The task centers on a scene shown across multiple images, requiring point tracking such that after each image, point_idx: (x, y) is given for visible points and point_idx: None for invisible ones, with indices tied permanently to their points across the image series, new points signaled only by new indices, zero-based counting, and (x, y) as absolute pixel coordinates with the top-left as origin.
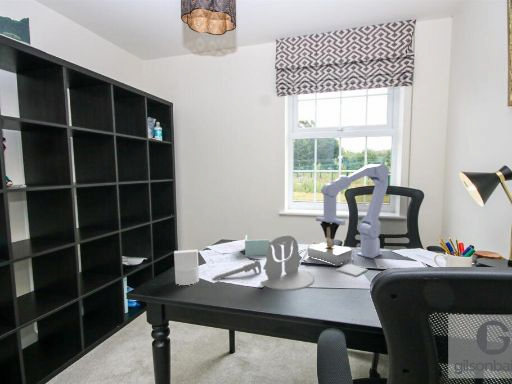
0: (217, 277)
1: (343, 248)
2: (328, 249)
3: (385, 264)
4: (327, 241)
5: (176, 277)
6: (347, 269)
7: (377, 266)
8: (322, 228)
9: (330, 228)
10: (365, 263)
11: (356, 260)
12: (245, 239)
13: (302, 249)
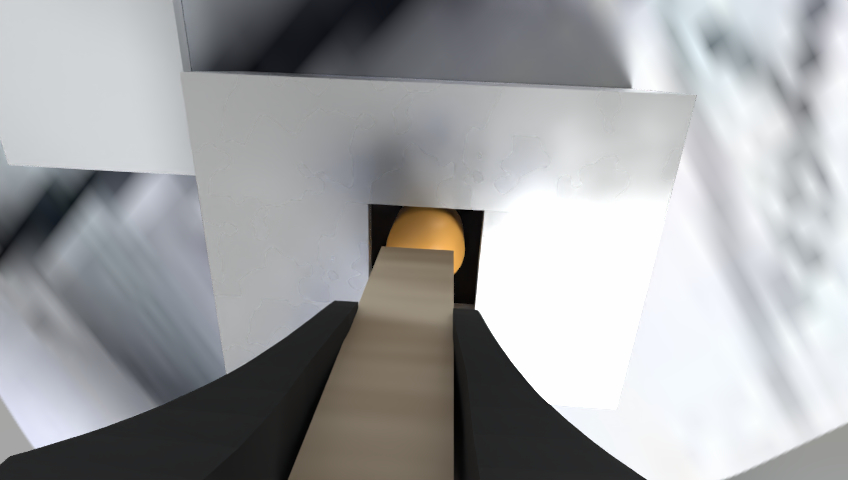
0: None
1: None
2: (454, 273)
3: (53, 371)
4: (437, 284)
5: None
6: (94, 22)
7: (52, 301)
8: (576, 429)
9: (224, 425)
10: (148, 305)
11: None
12: None
13: (816, 287)
